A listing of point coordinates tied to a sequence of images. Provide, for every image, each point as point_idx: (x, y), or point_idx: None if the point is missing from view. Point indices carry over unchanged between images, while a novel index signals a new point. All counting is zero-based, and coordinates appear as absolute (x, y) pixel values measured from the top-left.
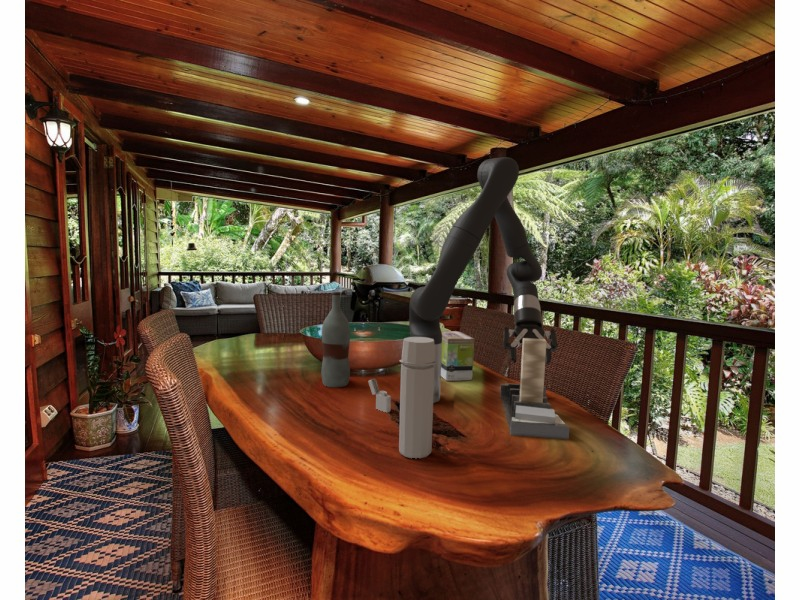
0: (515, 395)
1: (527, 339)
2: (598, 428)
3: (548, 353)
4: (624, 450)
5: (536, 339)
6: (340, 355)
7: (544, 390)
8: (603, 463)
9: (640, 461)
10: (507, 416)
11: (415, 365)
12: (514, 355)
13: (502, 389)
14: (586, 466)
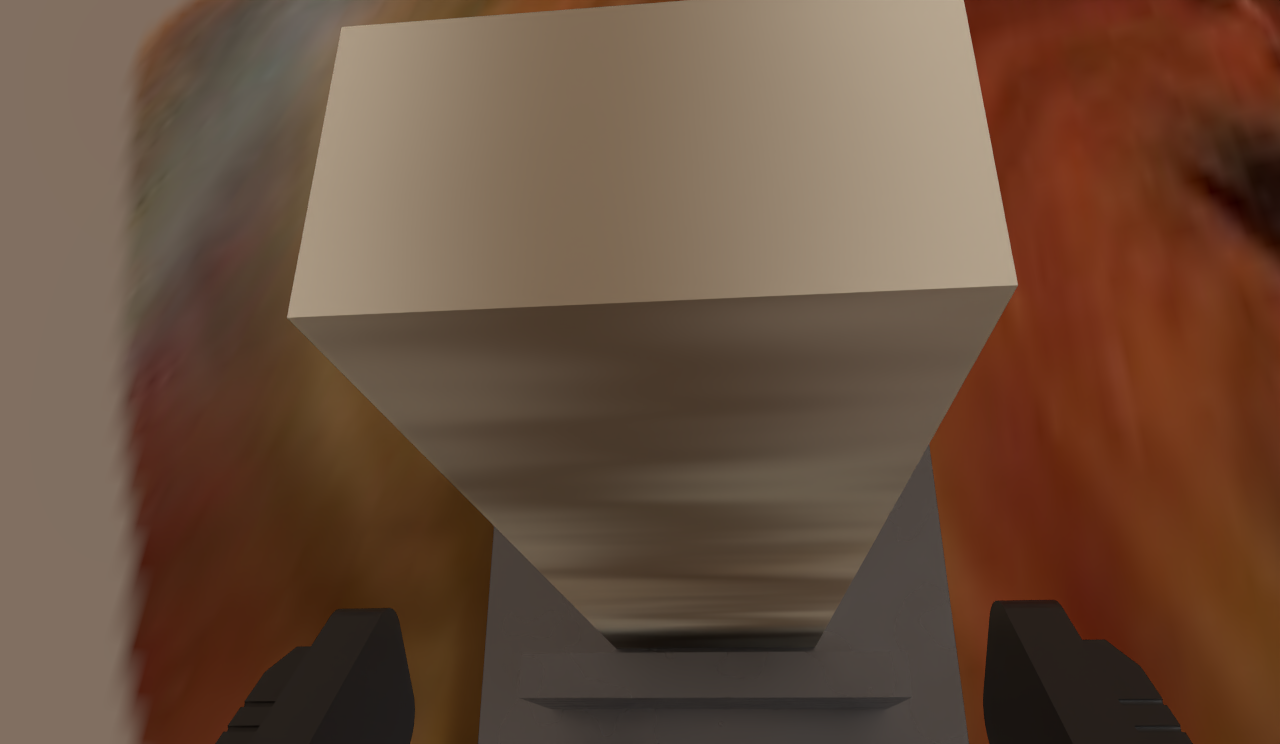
0: (872, 674)
1: (856, 103)
2: (206, 530)
3: (271, 720)
4: (220, 213)
5: (565, 184)
6: None
7: None
8: None
9: (210, 111)
10: (920, 491)
11: None
12: (1068, 640)
13: None
14: (507, 5)
